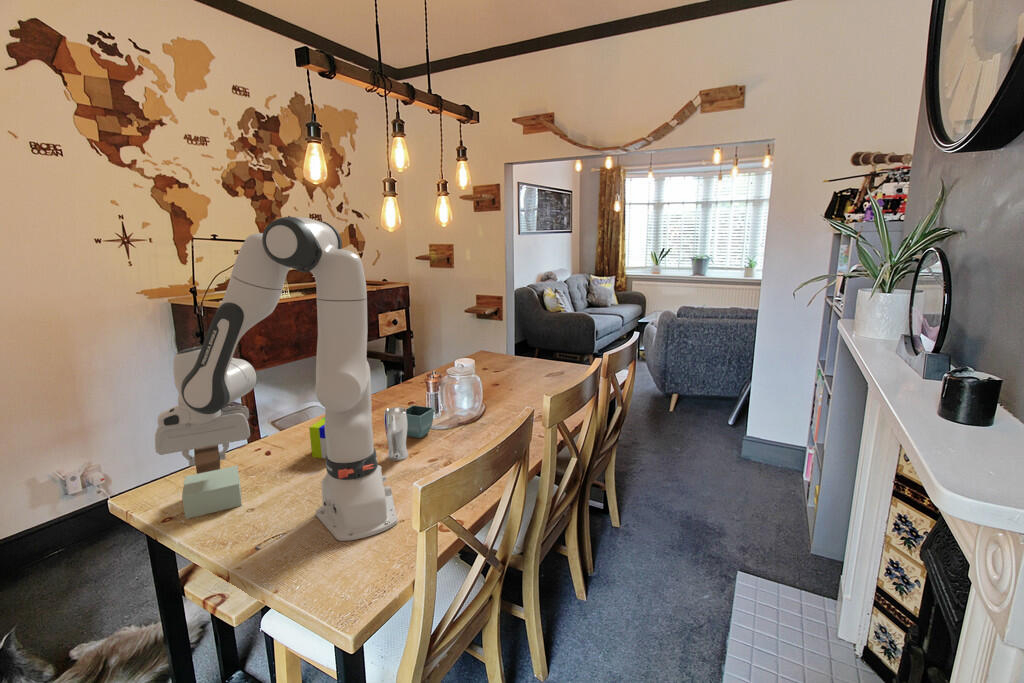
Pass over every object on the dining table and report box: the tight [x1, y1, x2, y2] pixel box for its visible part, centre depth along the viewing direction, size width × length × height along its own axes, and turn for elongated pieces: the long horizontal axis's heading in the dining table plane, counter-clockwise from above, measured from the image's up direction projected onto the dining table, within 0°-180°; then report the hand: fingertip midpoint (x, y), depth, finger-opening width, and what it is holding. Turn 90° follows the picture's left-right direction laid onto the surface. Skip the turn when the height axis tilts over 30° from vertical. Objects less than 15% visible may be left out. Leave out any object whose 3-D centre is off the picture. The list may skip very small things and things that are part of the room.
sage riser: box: [181, 464, 243, 520], centre depth 126 cm, size 12×12×6 cm
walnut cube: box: [193, 445, 221, 474], centre depth 124 cm, size 5×5×5 cm
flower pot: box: [405, 404, 435, 439], centre depth 167 cm, size 9×9×9 cm
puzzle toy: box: [308, 417, 327, 459], centre depth 154 cm, size 10×10×10 cm
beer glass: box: [383, 406, 409, 462], centre depth 150 cm, size 7×7×15 cm
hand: (208, 461), depth 124 cm, fingers closed on walnut cube, 5 cm apart
